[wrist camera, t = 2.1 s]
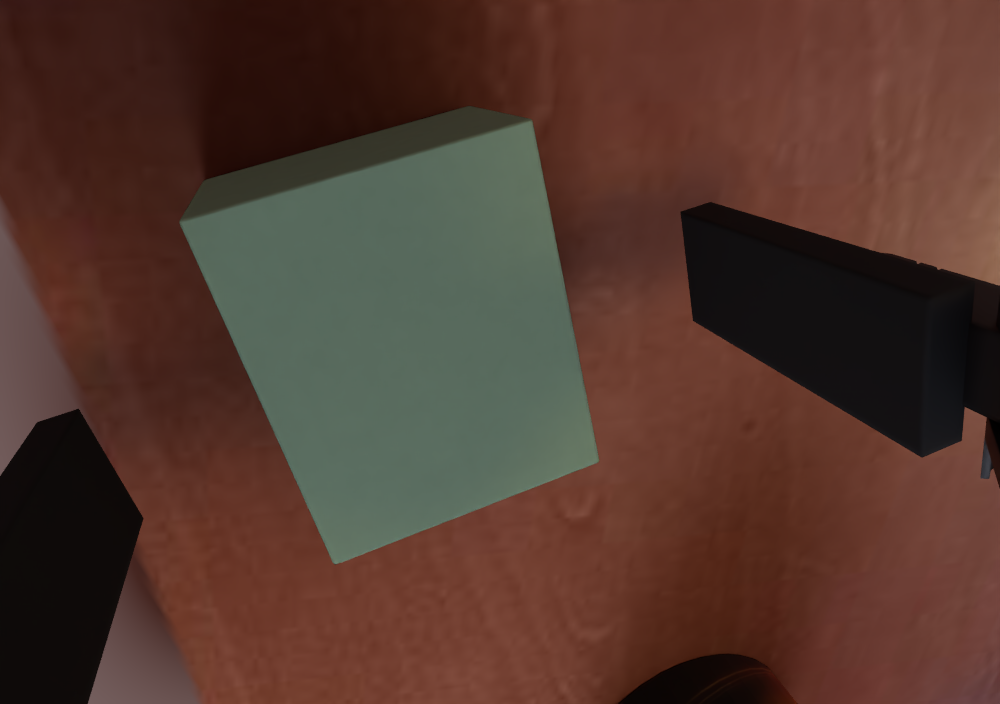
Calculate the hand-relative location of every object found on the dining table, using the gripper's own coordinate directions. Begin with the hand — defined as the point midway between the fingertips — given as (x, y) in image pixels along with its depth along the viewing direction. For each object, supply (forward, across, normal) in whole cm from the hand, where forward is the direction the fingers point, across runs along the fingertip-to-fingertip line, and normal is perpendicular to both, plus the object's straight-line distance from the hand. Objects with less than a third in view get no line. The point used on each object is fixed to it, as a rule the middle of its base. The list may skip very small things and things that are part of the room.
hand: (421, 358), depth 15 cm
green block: (+4, 0, 0) cm, 4 cm away
